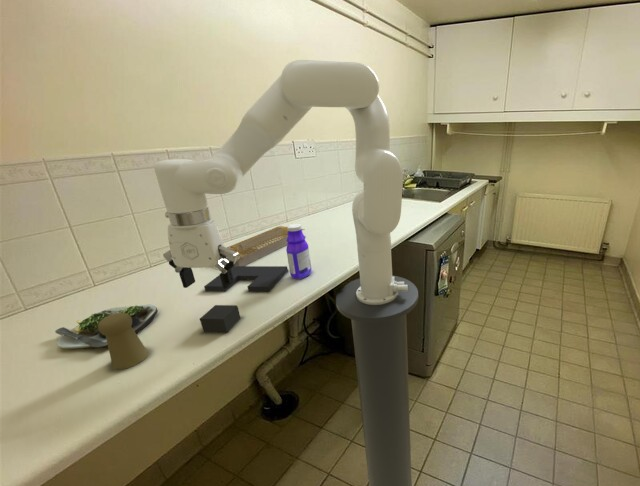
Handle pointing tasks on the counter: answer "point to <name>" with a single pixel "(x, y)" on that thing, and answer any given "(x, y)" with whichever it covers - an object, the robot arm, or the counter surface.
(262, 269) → the base pad
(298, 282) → the counter surface
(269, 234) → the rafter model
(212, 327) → the black square block
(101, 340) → the salad plate
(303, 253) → the bottle
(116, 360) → the cork
